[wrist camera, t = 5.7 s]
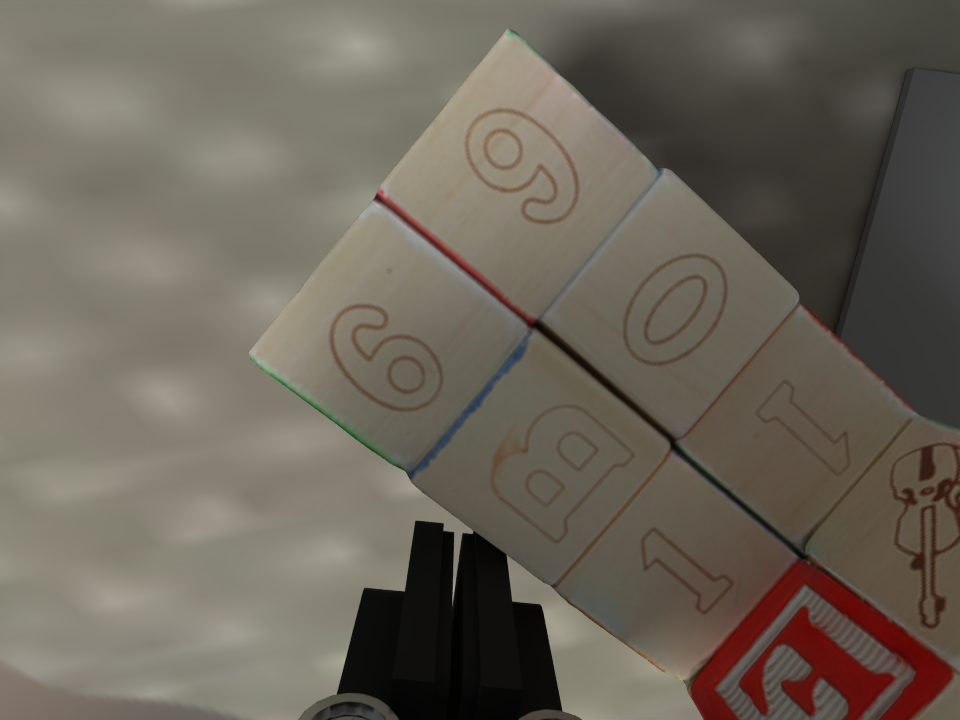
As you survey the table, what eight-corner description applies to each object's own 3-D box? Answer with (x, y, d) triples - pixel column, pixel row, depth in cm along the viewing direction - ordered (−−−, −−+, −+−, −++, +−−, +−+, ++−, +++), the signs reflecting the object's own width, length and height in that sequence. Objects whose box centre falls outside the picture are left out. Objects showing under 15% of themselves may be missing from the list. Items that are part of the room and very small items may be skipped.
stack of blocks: (329, 309, 18) (139, 390, 6) (467, 141, 18) (563, -135, 6) (820, 704, 22) (1332, 1263, 9) (942, 569, 21) (1637, 970, 9)
